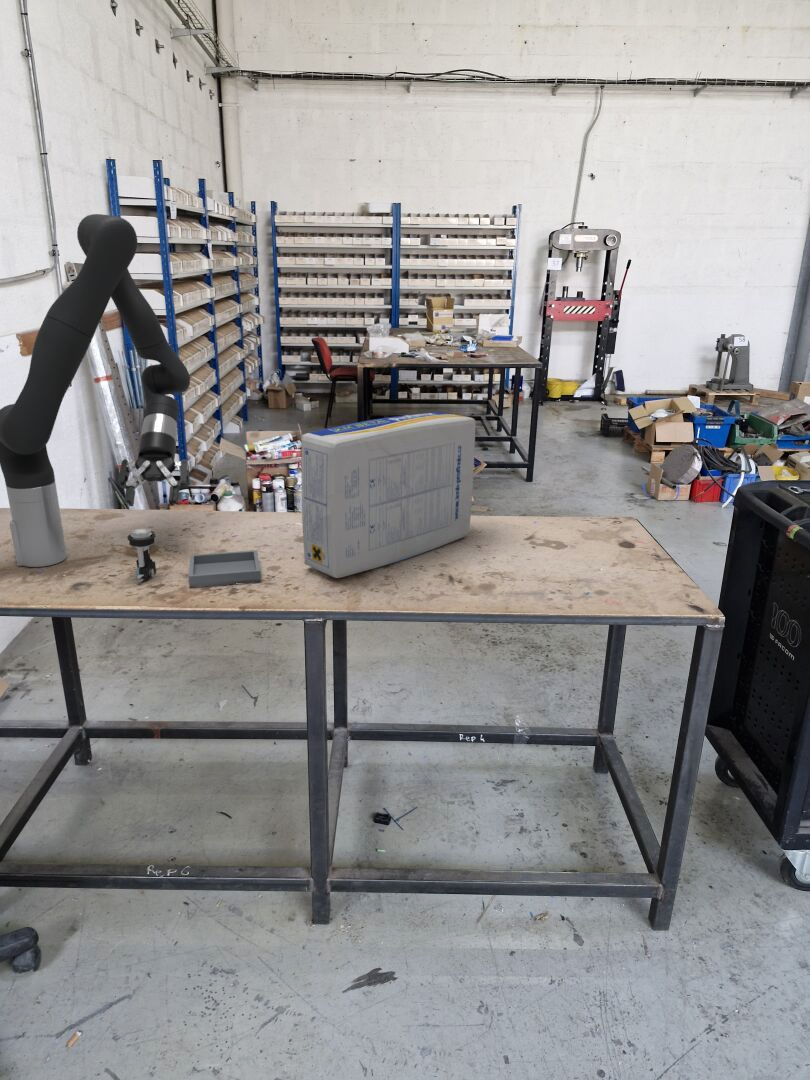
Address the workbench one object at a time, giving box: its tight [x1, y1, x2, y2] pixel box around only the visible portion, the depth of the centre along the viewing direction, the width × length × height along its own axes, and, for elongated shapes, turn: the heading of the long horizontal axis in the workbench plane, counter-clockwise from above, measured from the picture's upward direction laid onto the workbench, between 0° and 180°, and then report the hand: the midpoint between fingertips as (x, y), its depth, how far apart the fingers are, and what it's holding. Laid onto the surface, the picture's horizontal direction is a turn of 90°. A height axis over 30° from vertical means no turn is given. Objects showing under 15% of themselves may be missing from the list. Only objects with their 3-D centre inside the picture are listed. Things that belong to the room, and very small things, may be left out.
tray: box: [188, 549, 262, 589], centre depth 148 cm, size 14×12×2 cm
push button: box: [127, 528, 157, 583], centre depth 144 cm, size 7×5×10 cm
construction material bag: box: [301, 411, 476, 579], centre depth 157 cm, size 43×12×30 cm, turn 134°
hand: (150, 504), depth 150 cm, fingers open, 8 cm apart
